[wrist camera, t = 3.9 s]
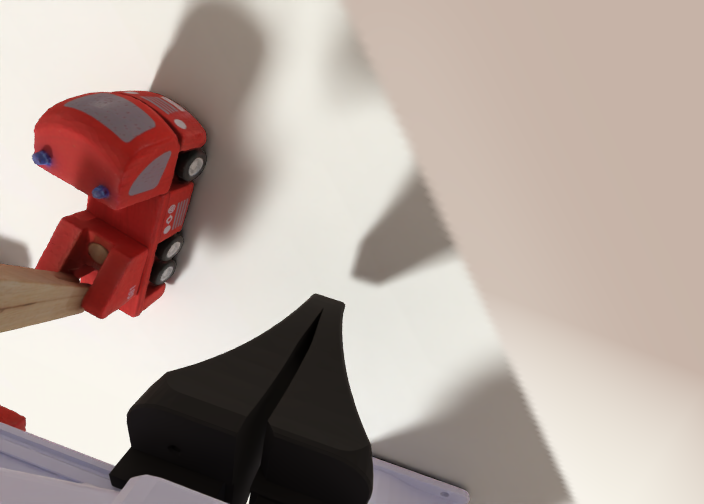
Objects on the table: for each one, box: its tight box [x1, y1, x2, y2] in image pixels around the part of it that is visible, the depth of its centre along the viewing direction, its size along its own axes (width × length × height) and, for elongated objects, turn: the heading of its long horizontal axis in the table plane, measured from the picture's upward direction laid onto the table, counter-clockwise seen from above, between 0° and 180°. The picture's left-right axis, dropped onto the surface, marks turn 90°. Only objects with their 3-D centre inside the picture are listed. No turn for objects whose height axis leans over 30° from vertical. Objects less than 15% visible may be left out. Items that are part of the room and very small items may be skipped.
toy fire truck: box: [0, 91, 206, 431], centre depth 12 cm, size 3×14×10 cm, turn 151°
